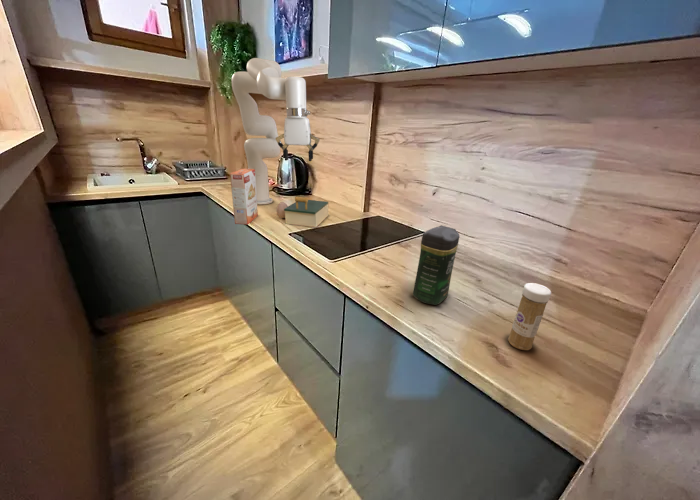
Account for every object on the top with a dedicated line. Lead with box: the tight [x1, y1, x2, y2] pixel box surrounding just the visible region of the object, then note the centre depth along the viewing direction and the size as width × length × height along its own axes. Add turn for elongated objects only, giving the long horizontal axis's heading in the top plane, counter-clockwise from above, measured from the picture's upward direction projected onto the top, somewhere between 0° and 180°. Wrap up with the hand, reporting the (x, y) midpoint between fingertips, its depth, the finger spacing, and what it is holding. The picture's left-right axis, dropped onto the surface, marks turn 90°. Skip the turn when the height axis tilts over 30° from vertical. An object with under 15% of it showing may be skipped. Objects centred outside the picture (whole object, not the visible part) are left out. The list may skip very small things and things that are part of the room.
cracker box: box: [229, 168, 259, 226], centre depth 127 cm, size 14×6×21 cm, turn 179°
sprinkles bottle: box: [507, 282, 552, 351], centre depth 60 cm, size 5×5×14 cm
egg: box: [276, 201, 289, 219], centre depth 134 cm, size 5×5×7 cm
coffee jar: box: [412, 225, 460, 306], centre depth 76 cm, size 10×8×19 cm
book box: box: [284, 203, 329, 228], centre depth 134 cm, size 18×14×6 cm
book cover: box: [284, 196, 329, 214], centre depth 132 cm, size 18×14×6 cm
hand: (298, 160), depth 122 cm, fingers open, 9 cm apart
